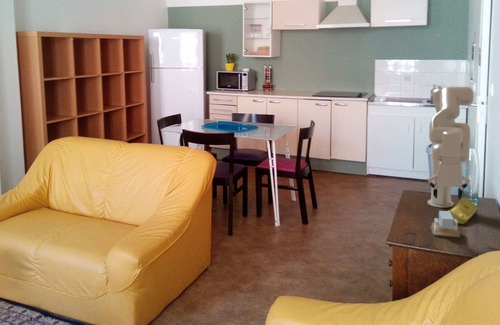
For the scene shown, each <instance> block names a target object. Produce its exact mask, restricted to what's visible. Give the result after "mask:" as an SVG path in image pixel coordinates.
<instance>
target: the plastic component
mask: <svg viewBox="0 0 500 325" xmlns="http://www.w3.org/2000/svg"><path fill="white" fill-rule="evenodd" d="M477 210H478V207H477V205H476V204H475V203H474V202H472V201H471V200H469V199H468V198H466V197H462V198H461V199H459V201H457V203H456V204H455V205H453V206H452V208H451V209H449V210H447V211H450V213H451V215H452V217H453V219H456V220H457V222H458V224H460V225H464V224H465V223H467V222H468V221H469V220H470V219H471V218H472V217H473V216H474V214H476V212H477Z"/></svg>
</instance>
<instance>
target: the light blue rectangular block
mask: <svg viewBox="0 0 500 325" xmlns="http://www.w3.org/2000/svg"><path fill="white" fill-rule="evenodd" d="M438 221H440V224H441V226H442V228H453V222H454V219H453V217H452V215H451V213H450V211H448V210H439V211H438Z"/></svg>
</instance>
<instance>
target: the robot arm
mask: <svg viewBox="0 0 500 325" xmlns="http://www.w3.org/2000/svg"><path fill="white" fill-rule="evenodd" d="M432 102H433V105H434V106H433V107H434V109H435V111H436V113H435V115H434V116H433V117H432V118H431V120H430V122H429V130H428V131H429V133H428V134H429V135H428V137H429V141H430V143H432V144H434V146H433V147H432V149H431V156H432V176H430V177H428V178H427V179H426V180H427V182H428V184H429V185H430V187H431V193H430V194H431V195H430V199H428V200H427V204H428V206H429V205H430V206H431V207H434V208H445V209H446V208H451V207H452V208H453V207H454V206H455V205H454V204H455V202H453V201H452V187H455V188H456V187H458V188H457V199H459V200H461V199H462V198H463V191H464V189H465V188H467V187H468V185H469V183H470V182H471V180H470V179H469V178H467V177H465V176H464V175H463V169H462V164H466V163H467V162H469V158H470V148H471V147H470V146H471V145H470V144H471V127H470V125H469V124H468V123H466V122H456V121H455V120H456V119H457V118H459V116H460V113H461V110H460V109H461V107H462V106H466V107H467V106H469V107H470V106H471V105H472V104H473V102H474V91H473V89H472V88H471V87H470V86H447V87H438V88H436V89H434V90H433V92H432ZM460 106H461V107H460ZM462 181H464V183H463V184H462ZM461 197H462V198H461Z"/></svg>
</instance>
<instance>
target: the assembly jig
mask: <svg viewBox="0 0 500 325" xmlns="http://www.w3.org/2000/svg"><path fill="white" fill-rule="evenodd" d="M430 230H431V233H432V235H433V236H434V237H446V238H449V237H450V238H453V237H454V238H461V234H460V230H458V229H457V231H456V230H435V231H434V222H431V226H430Z"/></svg>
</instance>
